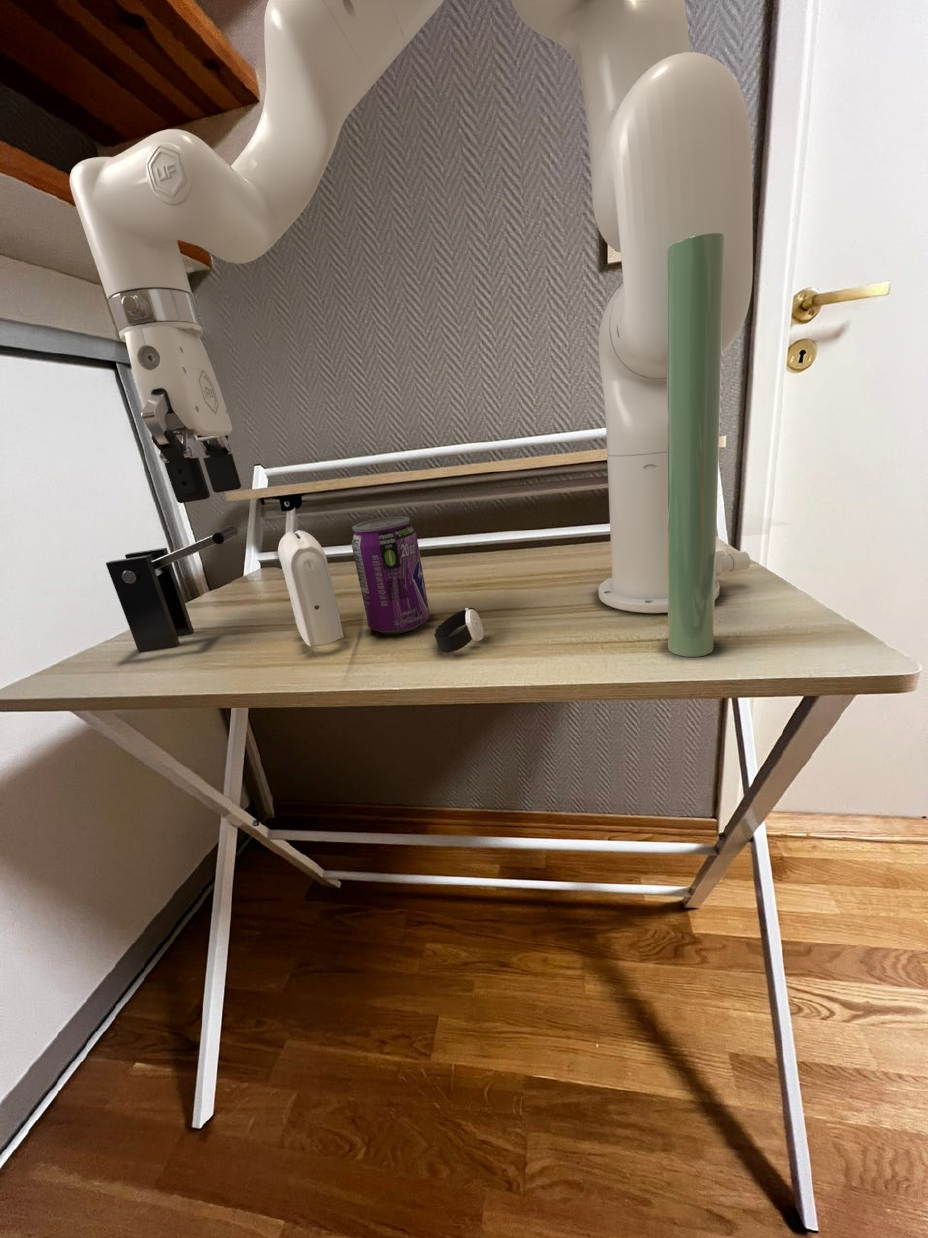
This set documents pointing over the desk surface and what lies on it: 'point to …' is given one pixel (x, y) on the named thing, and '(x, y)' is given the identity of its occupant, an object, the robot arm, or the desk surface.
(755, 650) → the desk surface
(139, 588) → the bracket
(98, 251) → the robot arm
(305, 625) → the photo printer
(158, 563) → the lever
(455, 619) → the watch
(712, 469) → the tall green cylinder
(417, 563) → the beverage can
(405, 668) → the desk surface
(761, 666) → the desk surface
